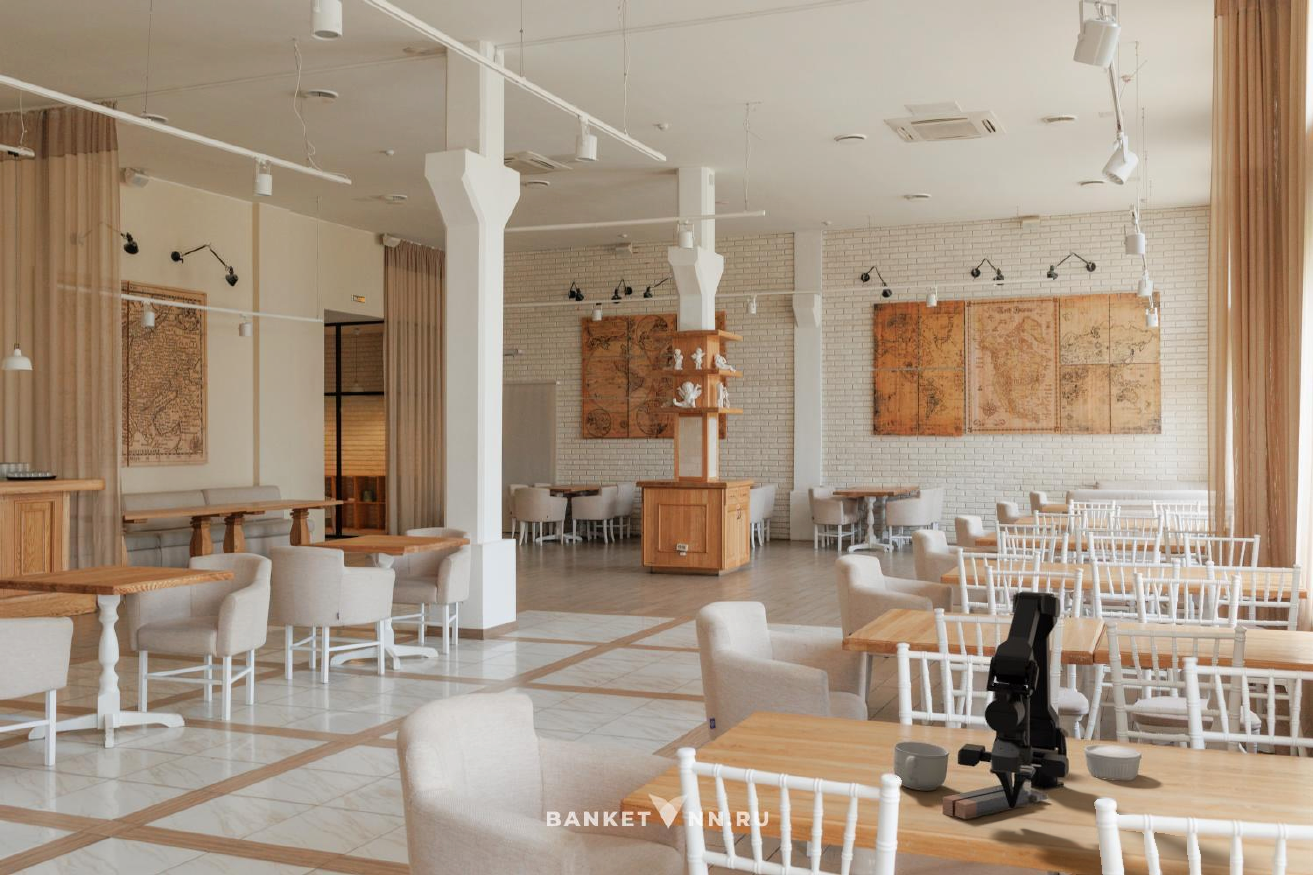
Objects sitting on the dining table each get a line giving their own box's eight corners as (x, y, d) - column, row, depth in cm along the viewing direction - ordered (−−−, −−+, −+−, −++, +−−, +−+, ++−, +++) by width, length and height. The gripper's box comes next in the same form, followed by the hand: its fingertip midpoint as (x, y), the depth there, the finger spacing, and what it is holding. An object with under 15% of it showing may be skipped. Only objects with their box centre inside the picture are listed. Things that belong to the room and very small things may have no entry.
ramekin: (1089, 765, 250) (1089, 741, 250) (1144, 773, 244) (1145, 748, 244) (1079, 777, 240) (1079, 752, 240) (1136, 785, 234) (1136, 759, 234)
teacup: (908, 776, 239) (909, 737, 239) (957, 786, 232) (958, 746, 232) (876, 790, 228) (876, 750, 229) (926, 801, 222) (927, 759, 222)
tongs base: (1024, 794, 227) (1024, 774, 227) (1047, 801, 222) (1047, 780, 222) (942, 813, 214) (942, 791, 214) (964, 821, 210) (964, 798, 210)
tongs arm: (1017, 801, 221) (1017, 787, 221) (1027, 804, 219) (1027, 791, 219) (955, 815, 212) (955, 801, 212) (965, 819, 210) (965, 804, 210)
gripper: (951, 724, 206) (950, 812, 206) (1060, 737, 197) (1060, 828, 197) (964, 712, 216) (964, 796, 215) (1069, 723, 207) (1069, 810, 207)
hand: (1012, 807), depth 208 cm, fingers closed
